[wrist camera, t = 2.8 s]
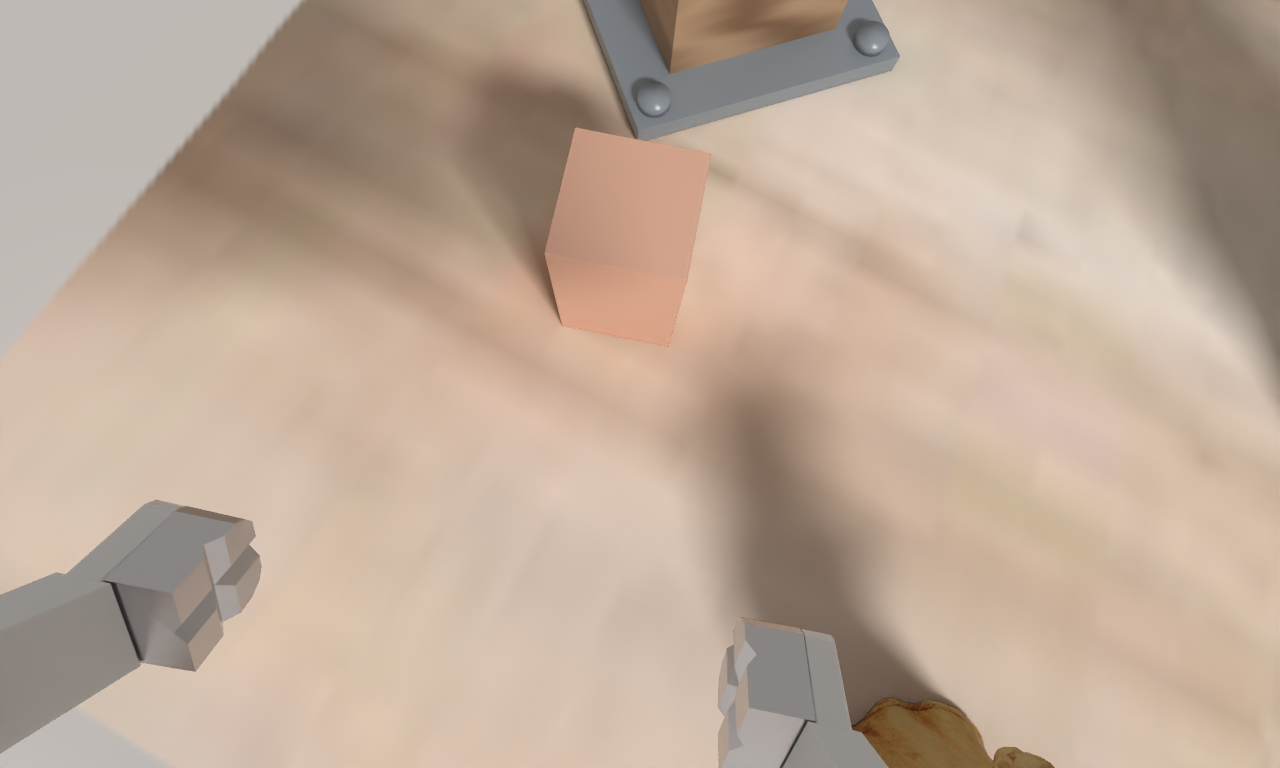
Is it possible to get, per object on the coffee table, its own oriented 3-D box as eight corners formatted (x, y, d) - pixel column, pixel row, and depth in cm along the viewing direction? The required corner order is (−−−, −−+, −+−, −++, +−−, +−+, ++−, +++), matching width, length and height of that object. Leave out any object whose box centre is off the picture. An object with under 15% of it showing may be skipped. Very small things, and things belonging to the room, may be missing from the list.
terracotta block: (584, 228, 31) (575, 127, 24) (687, 248, 31) (710, 153, 24) (562, 326, 30) (544, 252, 22) (668, 346, 30) (686, 281, 22)
